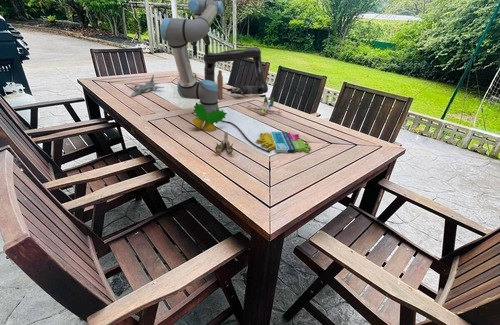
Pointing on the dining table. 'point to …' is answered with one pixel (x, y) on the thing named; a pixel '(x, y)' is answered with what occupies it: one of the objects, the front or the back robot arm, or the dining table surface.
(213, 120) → the ornament
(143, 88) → the airplane
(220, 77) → the bottle
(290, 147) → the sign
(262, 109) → the toy
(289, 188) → the dining table surface
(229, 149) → the jawbone
